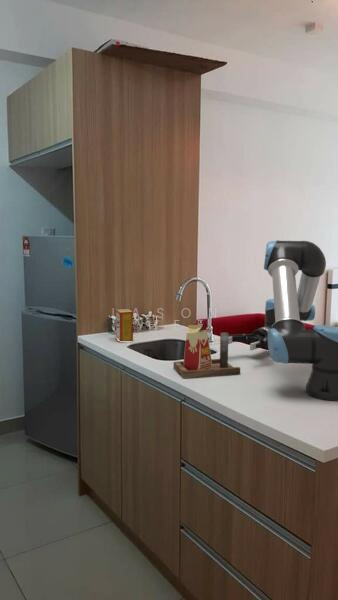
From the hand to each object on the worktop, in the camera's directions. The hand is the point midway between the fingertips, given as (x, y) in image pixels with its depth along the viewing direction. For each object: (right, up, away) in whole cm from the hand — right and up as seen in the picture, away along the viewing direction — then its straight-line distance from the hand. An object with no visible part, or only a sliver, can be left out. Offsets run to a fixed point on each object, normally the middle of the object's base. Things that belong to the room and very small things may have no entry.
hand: (236, 344), depth 202 cm
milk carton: (-17, -10, -9) cm, 22 cm away
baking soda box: (-51, -2, +47) cm, 69 cm away
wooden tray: (-14, -10, -8) cm, 19 cm away
